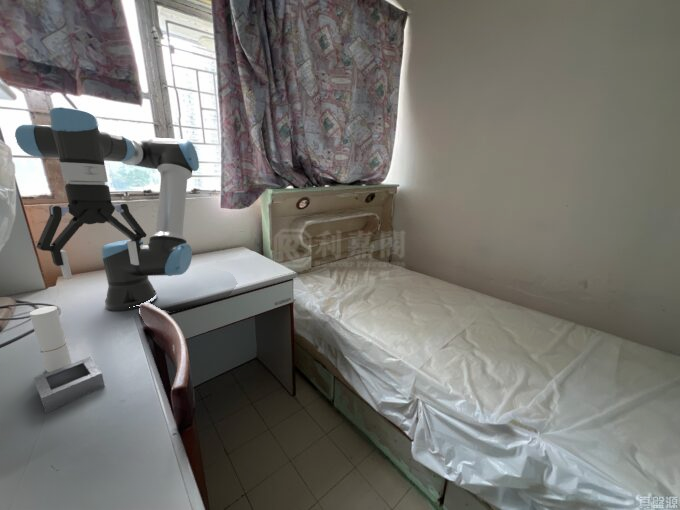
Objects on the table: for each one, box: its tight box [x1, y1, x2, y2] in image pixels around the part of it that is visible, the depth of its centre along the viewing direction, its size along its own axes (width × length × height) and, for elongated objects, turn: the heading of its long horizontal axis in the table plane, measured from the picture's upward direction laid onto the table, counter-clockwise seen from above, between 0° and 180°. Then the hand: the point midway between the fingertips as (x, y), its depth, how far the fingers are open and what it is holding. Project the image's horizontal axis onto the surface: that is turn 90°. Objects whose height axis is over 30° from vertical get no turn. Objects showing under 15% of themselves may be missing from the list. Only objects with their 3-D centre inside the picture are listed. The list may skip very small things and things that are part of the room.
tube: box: [29, 305, 72, 373], centre depth 63 cm, size 4×4×15 cm
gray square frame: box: [33, 356, 106, 414], centre depth 58 cm, size 9×9×4 cm
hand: (104, 270), depth 67 cm, fingers open, 13 cm apart
